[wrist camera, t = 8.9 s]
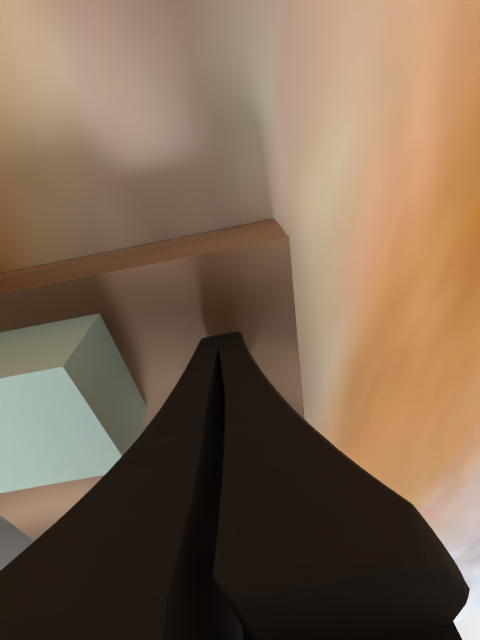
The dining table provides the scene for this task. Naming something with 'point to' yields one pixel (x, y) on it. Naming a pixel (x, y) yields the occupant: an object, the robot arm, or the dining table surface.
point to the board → (162, 322)
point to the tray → (11, 542)
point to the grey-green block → (64, 403)
